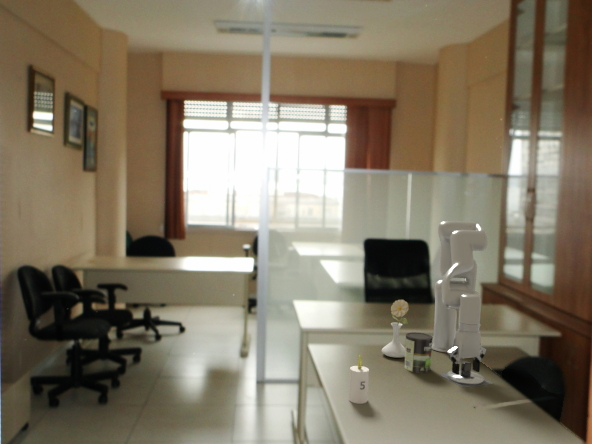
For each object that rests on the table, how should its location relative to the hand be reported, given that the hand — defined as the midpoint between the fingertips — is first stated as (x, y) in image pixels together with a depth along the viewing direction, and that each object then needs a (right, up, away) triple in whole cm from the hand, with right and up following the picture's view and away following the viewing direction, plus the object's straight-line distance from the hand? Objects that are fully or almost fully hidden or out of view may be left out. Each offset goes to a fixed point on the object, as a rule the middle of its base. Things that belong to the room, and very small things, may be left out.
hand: (465, 372), depth 197 cm
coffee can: (-16, -2, +10) cm, 19 cm away
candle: (-43, -3, -22) cm, 48 cm away
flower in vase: (-21, -1, +27) cm, 34 cm away
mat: (0, -4, 0) cm, 4 cm away
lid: (0, -3, 0) cm, 3 cm away
